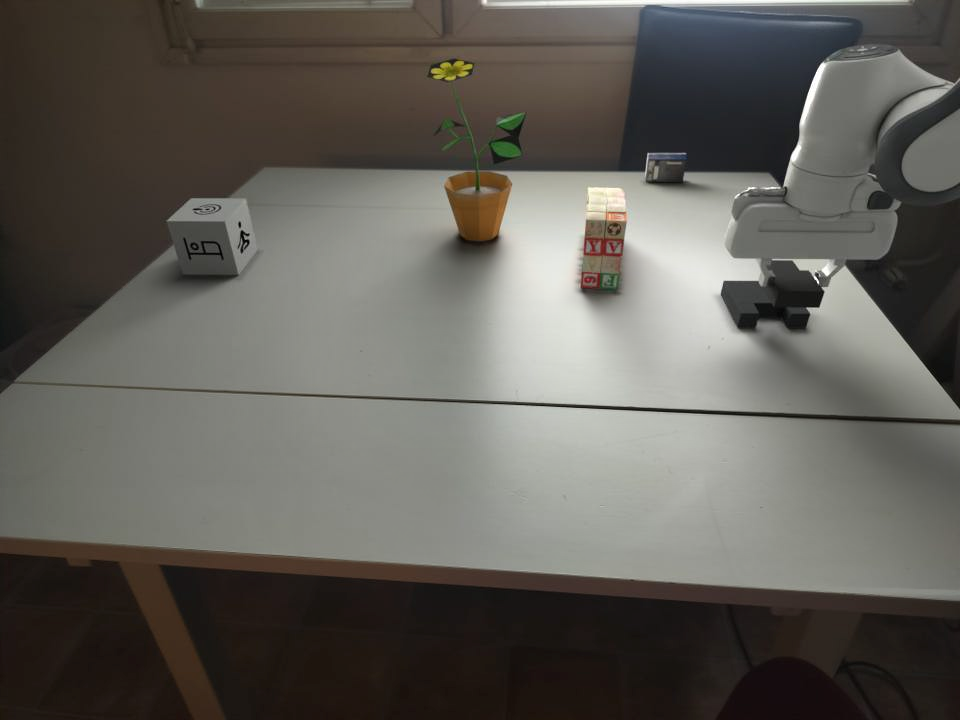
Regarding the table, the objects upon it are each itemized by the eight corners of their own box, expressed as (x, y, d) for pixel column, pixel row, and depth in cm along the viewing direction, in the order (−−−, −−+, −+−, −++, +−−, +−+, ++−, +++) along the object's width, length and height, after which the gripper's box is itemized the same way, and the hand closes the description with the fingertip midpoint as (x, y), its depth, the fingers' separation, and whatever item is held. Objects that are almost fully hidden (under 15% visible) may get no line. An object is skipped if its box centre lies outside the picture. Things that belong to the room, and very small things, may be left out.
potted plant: (412, 233, 128) (397, 67, 111) (484, 207, 138) (482, 50, 121) (472, 264, 117) (466, 85, 100) (546, 233, 127) (553, 65, 110)
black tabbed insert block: (796, 275, 97) (801, 260, 95) (819, 307, 89) (824, 291, 88) (754, 275, 97) (758, 259, 95) (773, 307, 90) (778, 291, 88)
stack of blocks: (584, 233, 127) (589, 170, 120) (617, 235, 126) (624, 171, 119) (580, 288, 110) (585, 218, 102) (618, 290, 109) (627, 220, 102)
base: (783, 294, 107) (787, 280, 105) (806, 328, 98) (810, 313, 97) (720, 294, 107) (723, 280, 106) (737, 327, 99) (740, 313, 98)
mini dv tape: (645, 181, 148) (648, 155, 145) (644, 179, 150) (647, 152, 146) (682, 181, 148) (687, 155, 144) (681, 179, 149) (685, 152, 146)
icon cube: (183, 274, 116) (166, 221, 111) (205, 249, 125) (191, 198, 119) (238, 275, 116) (224, 221, 110) (257, 249, 124) (245, 198, 118)
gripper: (744, 196, 81) (721, 295, 89) (917, 197, 80) (878, 297, 88) (730, 177, 86) (710, 273, 94) (893, 178, 85) (858, 274, 93)
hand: (792, 285), depth 91 cm, fingers closed on black tabbed insert block, 6 cm apart
